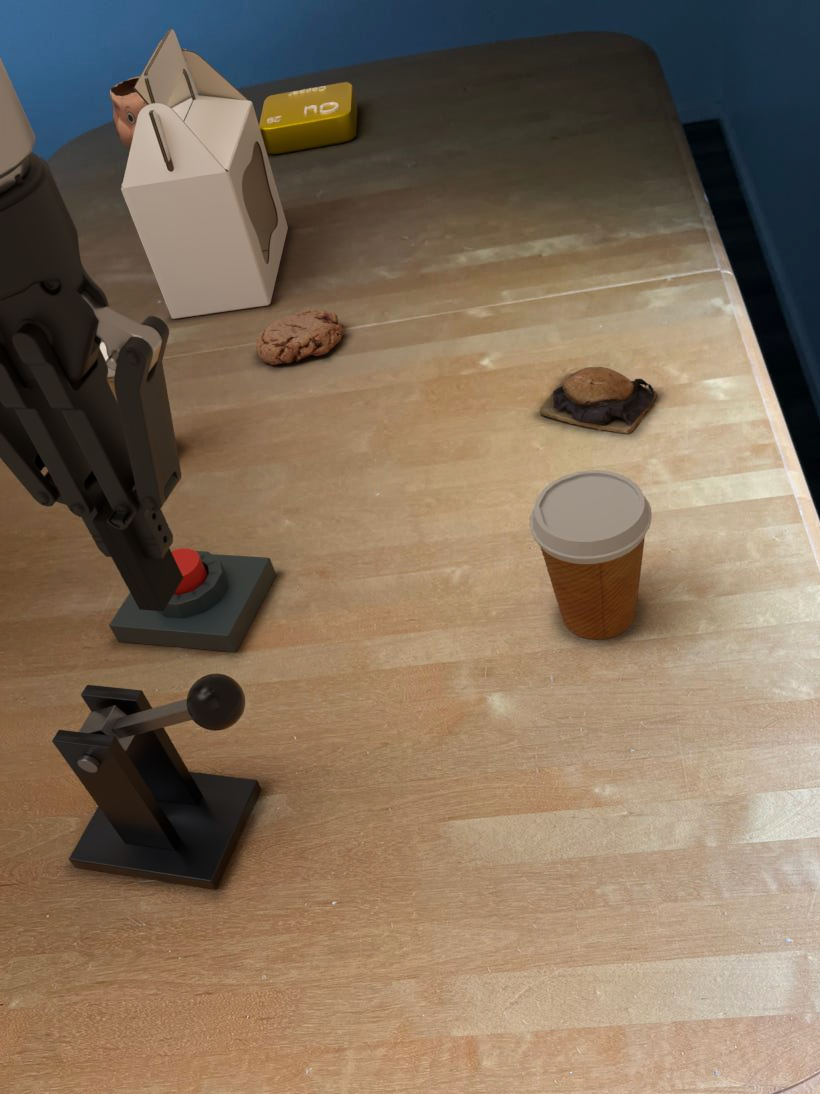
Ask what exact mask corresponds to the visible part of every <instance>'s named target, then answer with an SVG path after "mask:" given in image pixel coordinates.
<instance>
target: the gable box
mask: <svg viewBox="0 0 820 1094" xmlns="http://www.w3.org/2000/svg"><path fill="white" fill-rule="evenodd" d="M139 76H140V78H139V79H138V81H137V83H136V85H135V87H134V88H133V89H134V90H135V91H136V92H137V93H138V94H139V96H140V97H141V98H142V99H143V100H144V101H145V103H146V104H147V106H145V107H144V108H142V109H141V111H140V112H139V114H138V117H137V122H136V126H135V131H134V135H133V140H132V144H131V148H130V150H129V154H128V157H127V162H126V167H125V171H124V175H123V176H124V177H123V180H122V183H121V185H120V190H121V193H122V197H123V199H124V201H125V203H126V206H127V208H128V211H129V214H130V216H131V219H132V221H133V224H134V226H135V229H136V231H137V234H138V236H139V240H140V241H141V244H142V247H143V249H144V252H145V254H146V257H147V259H148V261H149V264H150V267H151V269H152V272H153V275H154V277H155V280H156V282H157V284H158V288H159V289H160V292H161V295H162V297H163V299H164V303H165V306H166V308H167V310H168V313H169V315H170V318H171V319H173V320H178V319H184V318H191V317H198V316H205V315H212V314H213V315H214V314H220V313H225V312H234V311H240V310H247V309H254V308H260V307H268V306H270V305H271V303H272V299H273V294H274V290H275V286H276V281H277V276H278V273H279V268H280V263H281V260H282V255H283V250H284V247H285V243H286V238H287V233H288V229H289V226H288V224H287V220H286V216H285V213H284V209H283V205H282V202H281V198H280V195H279V191H278V188H277V184H276V181H275V177H274V173H273V171H272V166H271V162H270V160H269V156H268V153H267V152H266V149H265V145H264V142H263V138H262V135H261V131H260V128H259V124H260V123H259V121H258V117H257V114H256V110H255V107H254V103H253V102H252V101H251V100H250V99H249V98H248V97H246V96H245V94H243V93H242V92H241V91H240V90H239V89H238V88H236V87H235V86H234V85H233V84H232V83H231V82H230V81H229V80H228V79H226V78H225V76H223V75H222V74H221V73H220V72H219V71H218V70H217V69H215V68H214V66H212V64H210V63H209V62H208V61H207V60H205V59H204V57H202V56H201V55H200V54H199V53H198V52H195V51H192V50H188V49H187V48H186V47H183V48H181V45H180V43H179V40H178V36H177V35H176V33H175V30H174V29H172V28H171V29H167V31H166V33H165V35H164V36H163V38H162V39H160V41H159V42H158V44H157V46H156V47H155V49H154V51H153V52H152V55H151V56H150V58H149V59H148V62H147V63H146V66H145V67H144V69H143V71H142V72H141V74H140V75H139ZM199 94H200V95H199Z"/></svg>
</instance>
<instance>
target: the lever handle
mask: <svg viewBox="0 0 820 1094" xmlns="http://www.w3.org/2000/svg"><path fill="white" fill-rule="evenodd" d="M245 708H246V695H245V692H244V689H243V688H242V686H241V684H239V682H238V681H237V680H235V679H234V678H233V677H231V676H230V675H227V674H224V673H210V674H205V675H204V676H202V677H200V678H198V679H197V680H195V682H193V684H192V685H191V687H190V689H189V690H188V692H187V695H186V698H183V699H181V700H178V701H177V700H176V701H174V702H170V703H166V704H164V705H159V706H156V707H152V709H149V710H145V711H141V712H138V713H134V714H131V715H126V714H125V713H124V712H123V711H122V710H121V709H119V708H118V707H117V706H116V705H114V706H111V707H107V708H104V709H100V710H97V711H93V712H91V711H90V712H89V714H88V715H87V717H86V719H85V721H84V722H83V724H82V726H81V727H80V729H79V731H78V732H83V733H92V734H100V735H109V736H115V737H116V738H117V739H118V741H119V743H120V744H121V746H122V747H123V749H124V750H125V751H126V750H127V748H128V747H129V745H130V743H131V741H132V739H133V738H134V736H135V735H137V734H141V733H145V732H148V731H152V730H156V729H160V728H164V729H165V728H167V727H171V726H175V725H178V724H182V723H186V722H189V721H193V722H194V723H195V724H196V725H197V726H198V727H200V728H202V729H205V730H208V731H212V732H213V731H215V732H219V731H223V730H227V729H229V728H231V727H233V726H234V725H235V724H236V723H238V721H239V720H240V719H241V718H242V716H243V714H244V712H245Z"/></svg>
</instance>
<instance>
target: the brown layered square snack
mask: <svg viewBox="0 0 820 1094" xmlns="http://www.w3.org/2000/svg"><path fill="white" fill-rule="evenodd" d="M657 397H658V393H657V391H655V390H654V388H653V387H652V385H651V384H650V383H648V382H647V381H646V380H644V379H643V378H635V379H634V380H631V379H630V378H628V377H627V376H625V375H623V373H621V372H618V371H616V370H614V369H611V368H609V367H603V366H589V367H583V368H581V369H579V370H576V371H575V372H573V373H568V374H567V375H566V376H565V377H564V378H563V379H562V380H561V382H560V383H559V384H558V385H557V386H556V388H555V389H554V390H553V391H552V393H551V394H550V395H549V396H548V398H547V399H546V400H545V402H544V403H543V404H542V405H541V406H540V409H539V412H538V414H539V415H541V416H544V417H547V418H551V419H553V420H558V421H561V422H562V423H564V422H565V423H568V424H571V425H576V426H578V427H584V428H592V429H597V430H598V431H599V432H601V431H607V432H613V433H617V434H627V435H629V434H630V433H632V432H633V431H635V430H636V428H637V427H638V426H639V424H640V422H641V421H642V420H643V419H644V418H645V415H646V414H647V412H649V411H650V410H651V406H652V405H653V403H654V401H655V400H656V399H657Z"/></svg>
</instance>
